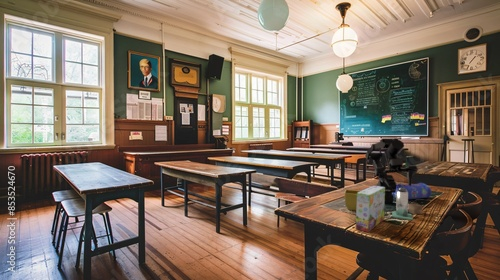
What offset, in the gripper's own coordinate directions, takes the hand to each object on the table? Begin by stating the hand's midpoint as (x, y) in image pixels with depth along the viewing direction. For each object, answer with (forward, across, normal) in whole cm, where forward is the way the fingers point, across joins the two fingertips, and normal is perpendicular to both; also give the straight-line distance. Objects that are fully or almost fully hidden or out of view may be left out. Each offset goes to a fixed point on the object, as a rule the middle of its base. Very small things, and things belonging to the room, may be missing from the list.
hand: (399, 186), depth 122 cm
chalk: (+8, +2, +11) cm, 14 cm away
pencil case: (-5, +13, +34) cm, 37 cm away
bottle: (+14, -2, 0) cm, 14 cm away
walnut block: (+11, +5, +7) cm, 14 cm away
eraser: (+6, +6, +15) cm, 18 cm away
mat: (+15, -2, 0) cm, 15 cm away
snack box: (+22, -18, -14) cm, 32 cm away
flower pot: (+10, -23, +3) cm, 25 cm away
